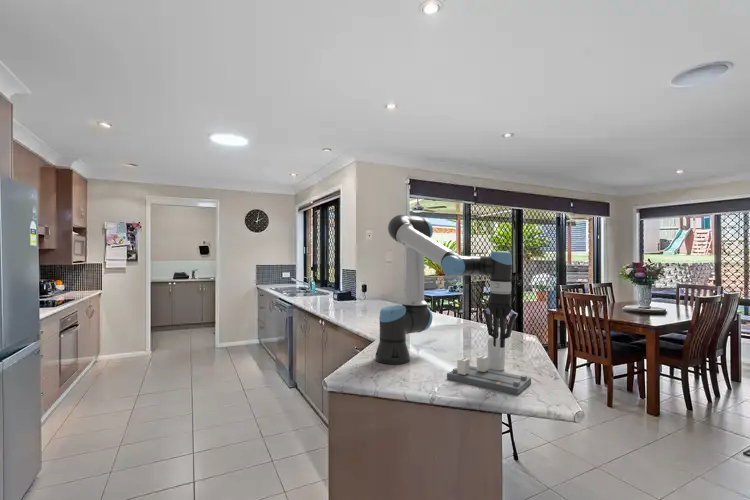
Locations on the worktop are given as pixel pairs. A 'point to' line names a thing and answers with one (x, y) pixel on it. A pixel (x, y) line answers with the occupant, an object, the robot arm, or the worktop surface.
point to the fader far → (482, 363)
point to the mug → (495, 357)
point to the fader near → (463, 366)
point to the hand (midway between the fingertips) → (498, 355)
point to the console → (492, 380)
